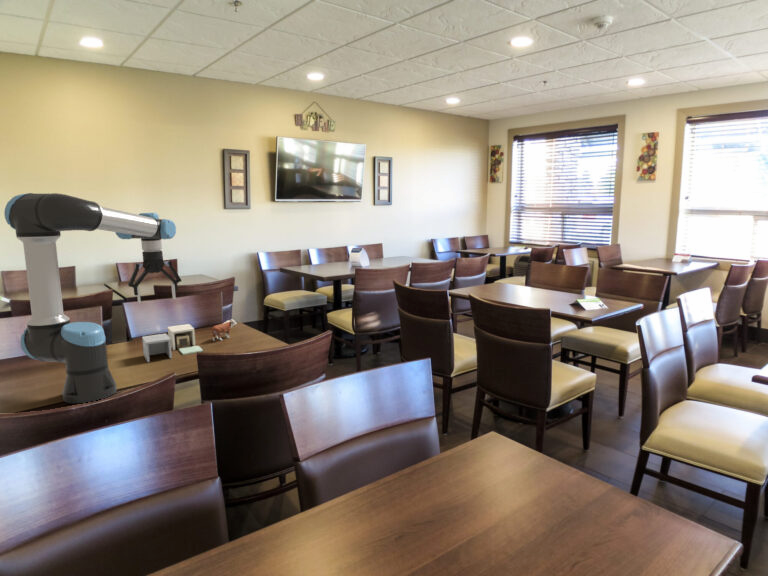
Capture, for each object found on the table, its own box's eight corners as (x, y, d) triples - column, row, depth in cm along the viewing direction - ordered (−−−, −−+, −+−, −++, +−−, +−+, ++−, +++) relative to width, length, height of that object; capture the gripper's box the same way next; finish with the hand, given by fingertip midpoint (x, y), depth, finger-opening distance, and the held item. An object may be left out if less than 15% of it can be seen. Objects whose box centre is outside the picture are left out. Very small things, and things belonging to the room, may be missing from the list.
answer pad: (203, 351, 207) (203, 350, 207) (182, 354, 202) (182, 353, 202) (198, 346, 213) (198, 345, 213) (178, 350, 209) (178, 348, 209)
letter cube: (190, 346, 214) (189, 335, 213) (177, 348, 211) (176, 337, 210) (187, 344, 218) (186, 332, 217) (175, 345, 215) (174, 334, 214)
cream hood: (195, 346, 214) (194, 328, 212) (173, 350, 209) (171, 331, 207) (190, 341, 222) (189, 323, 220) (169, 344, 217) (167, 326, 216)
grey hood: (172, 358, 198) (170, 339, 197) (147, 362, 194) (145, 342, 192) (167, 351, 207) (165, 333, 205) (143, 355, 202) (142, 336, 200)
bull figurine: (239, 335, 230) (238, 318, 229) (215, 342, 219) (214, 325, 218) (232, 334, 233) (231, 317, 231) (209, 341, 222) (207, 323, 220)
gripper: (181, 247, 215) (185, 295, 219) (117, 251, 201) (122, 302, 205) (186, 249, 208) (190, 298, 213) (119, 253, 195) (125, 306, 199)
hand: (157, 300), depth 209 cm, fingers open, 13 cm apart
